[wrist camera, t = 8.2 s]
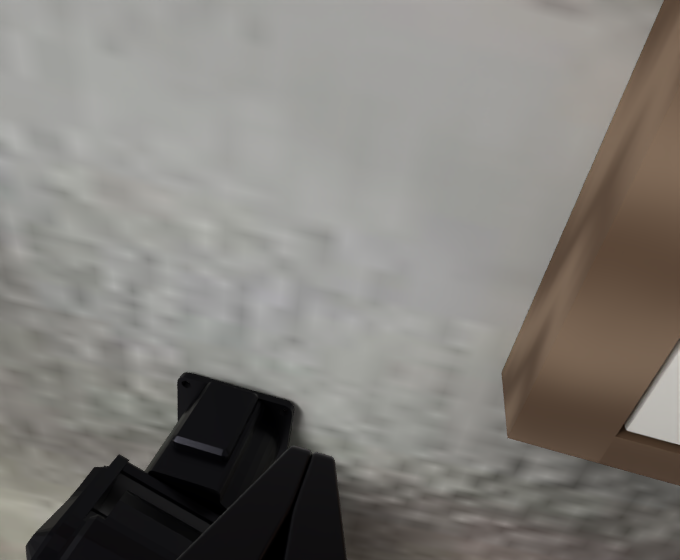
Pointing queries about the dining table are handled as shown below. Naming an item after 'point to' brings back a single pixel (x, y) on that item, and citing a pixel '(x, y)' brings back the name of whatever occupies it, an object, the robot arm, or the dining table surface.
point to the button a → (660, 403)
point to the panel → (611, 285)
